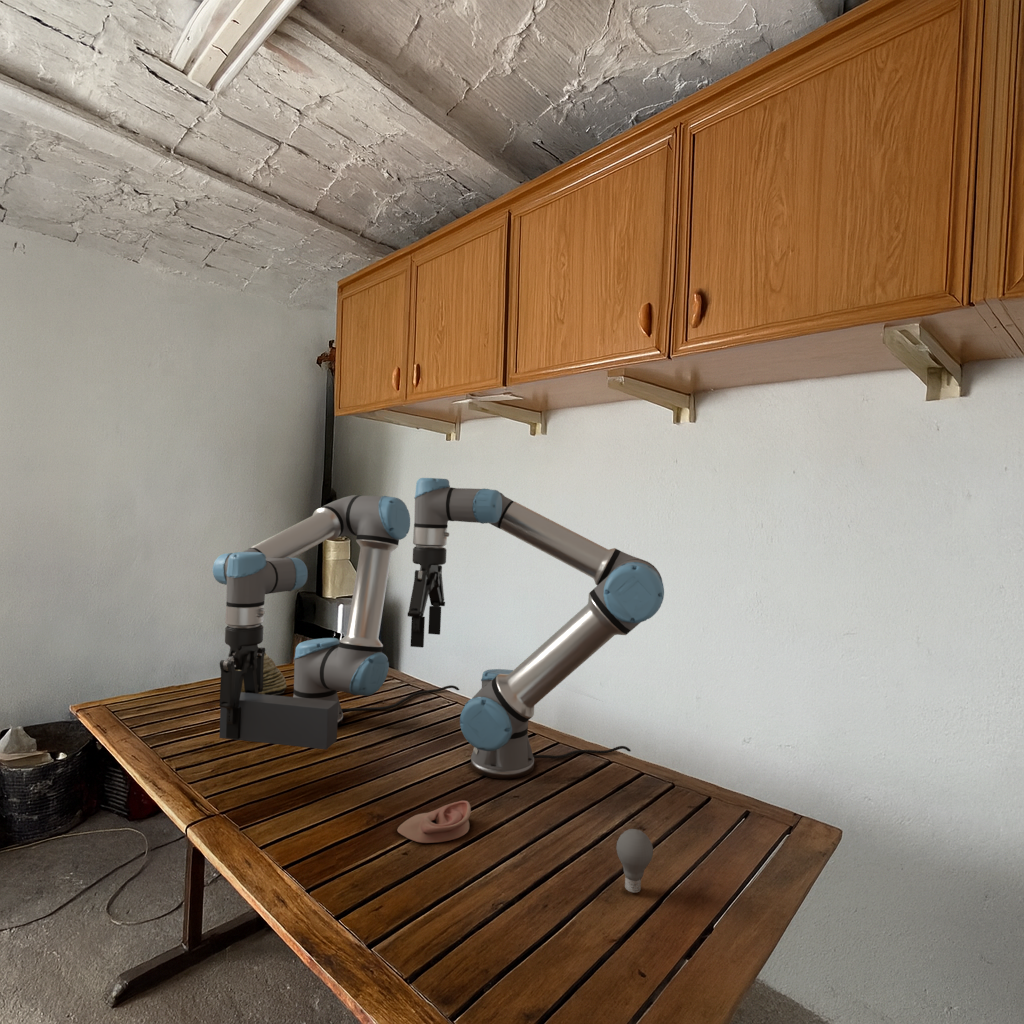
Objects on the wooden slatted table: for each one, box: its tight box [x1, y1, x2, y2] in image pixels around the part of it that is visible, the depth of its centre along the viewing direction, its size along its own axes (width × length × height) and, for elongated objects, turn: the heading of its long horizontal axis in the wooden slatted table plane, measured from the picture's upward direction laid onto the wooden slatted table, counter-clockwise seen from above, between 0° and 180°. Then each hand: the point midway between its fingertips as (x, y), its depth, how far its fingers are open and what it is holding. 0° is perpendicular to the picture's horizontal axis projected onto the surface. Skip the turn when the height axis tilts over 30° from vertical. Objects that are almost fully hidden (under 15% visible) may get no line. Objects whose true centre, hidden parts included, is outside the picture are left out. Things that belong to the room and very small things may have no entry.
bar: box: [218, 692, 338, 750], centre depth 134 cm, size 24×5×8 cm, turn 81°
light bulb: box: [615, 828, 654, 894], centre depth 106 cm, size 6×6×10 cm
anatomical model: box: [396, 800, 472, 844], centre depth 123 cm, size 13×4×12 cm
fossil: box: [237, 652, 288, 696], centre depth 198 cm, size 9×18×15 cm, turn 132°
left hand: (240, 732), depth 136 cm, fingers closed on bar, 5 cm apart
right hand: (426, 640), depth 143 cm, fingers open, 13 cm apart
